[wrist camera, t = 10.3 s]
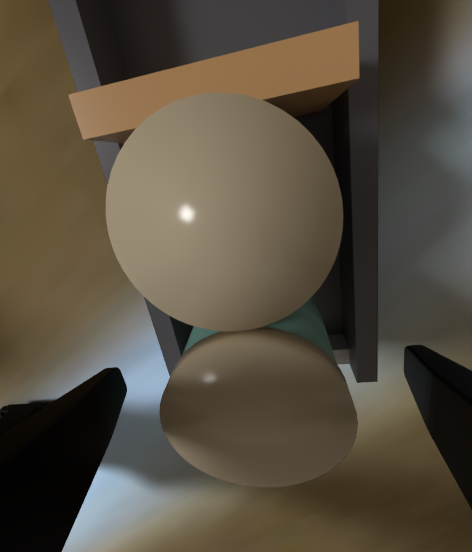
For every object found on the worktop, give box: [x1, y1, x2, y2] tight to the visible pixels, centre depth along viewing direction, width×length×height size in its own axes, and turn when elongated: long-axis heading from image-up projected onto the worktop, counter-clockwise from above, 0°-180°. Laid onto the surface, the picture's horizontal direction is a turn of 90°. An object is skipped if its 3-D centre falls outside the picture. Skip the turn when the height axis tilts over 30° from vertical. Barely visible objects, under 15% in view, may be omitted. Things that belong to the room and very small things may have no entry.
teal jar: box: [160, 294, 358, 488], centre depth 13 cm, size 6×6×8 cm
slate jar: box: [106, 92, 343, 332], centre depth 11 cm, size 6×6×8 cm
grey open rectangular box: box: [48, 0, 379, 383], centre depth 12 cm, size 23×11×6 cm, turn 10°
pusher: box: [68, 21, 359, 143], centre depth 11 cm, size 1×8×6 cm, turn 100°
